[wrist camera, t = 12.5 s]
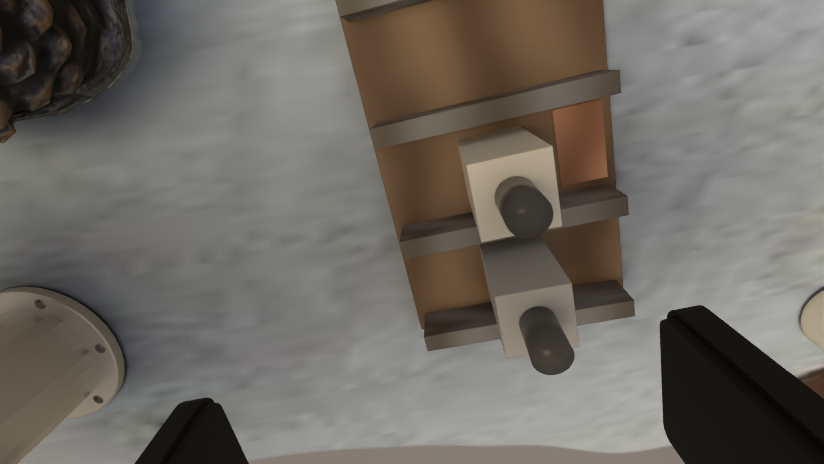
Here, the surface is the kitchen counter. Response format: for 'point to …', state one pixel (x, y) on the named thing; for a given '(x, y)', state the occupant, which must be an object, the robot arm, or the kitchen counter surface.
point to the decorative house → (58, 55)
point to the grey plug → (531, 302)
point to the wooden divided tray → (482, 113)
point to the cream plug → (510, 183)
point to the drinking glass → (814, 320)
